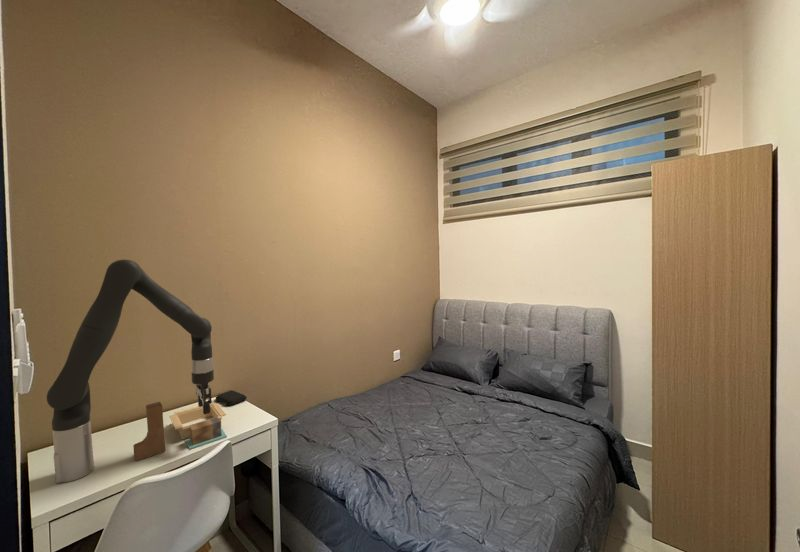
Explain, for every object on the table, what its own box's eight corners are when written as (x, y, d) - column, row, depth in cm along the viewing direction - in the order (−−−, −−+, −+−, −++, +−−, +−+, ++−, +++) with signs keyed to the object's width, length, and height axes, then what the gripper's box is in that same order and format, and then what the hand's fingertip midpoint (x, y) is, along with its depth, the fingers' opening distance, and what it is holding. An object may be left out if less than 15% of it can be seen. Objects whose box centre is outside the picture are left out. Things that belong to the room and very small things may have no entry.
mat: (189, 449, 130) (189, 448, 130) (185, 441, 136) (185, 440, 136) (226, 437, 138) (226, 435, 138) (221, 429, 144) (221, 428, 144)
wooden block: (135, 461, 123) (131, 412, 121) (134, 456, 126) (130, 408, 125) (165, 451, 129) (162, 404, 127) (163, 446, 132) (160, 401, 131)
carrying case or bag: (211, 401, 173) (227, 409, 164) (211, 395, 172) (227, 402, 164) (232, 394, 181) (248, 400, 173) (232, 388, 181) (248, 394, 173)
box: (193, 445, 132) (192, 430, 131) (190, 440, 136) (189, 425, 135) (221, 435, 138) (220, 421, 138) (218, 431, 142) (217, 417, 142)
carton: (177, 443, 134) (176, 431, 134) (169, 425, 149) (168, 414, 148) (227, 427, 146) (227, 415, 146) (216, 411, 161) (215, 401, 160)
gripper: (187, 367, 138) (189, 406, 139) (195, 376, 127) (197, 419, 128) (208, 363, 143) (210, 401, 144) (217, 371, 132) (219, 413, 133)
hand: (204, 409), depth 136 cm, fingers open, 8 cm apart
